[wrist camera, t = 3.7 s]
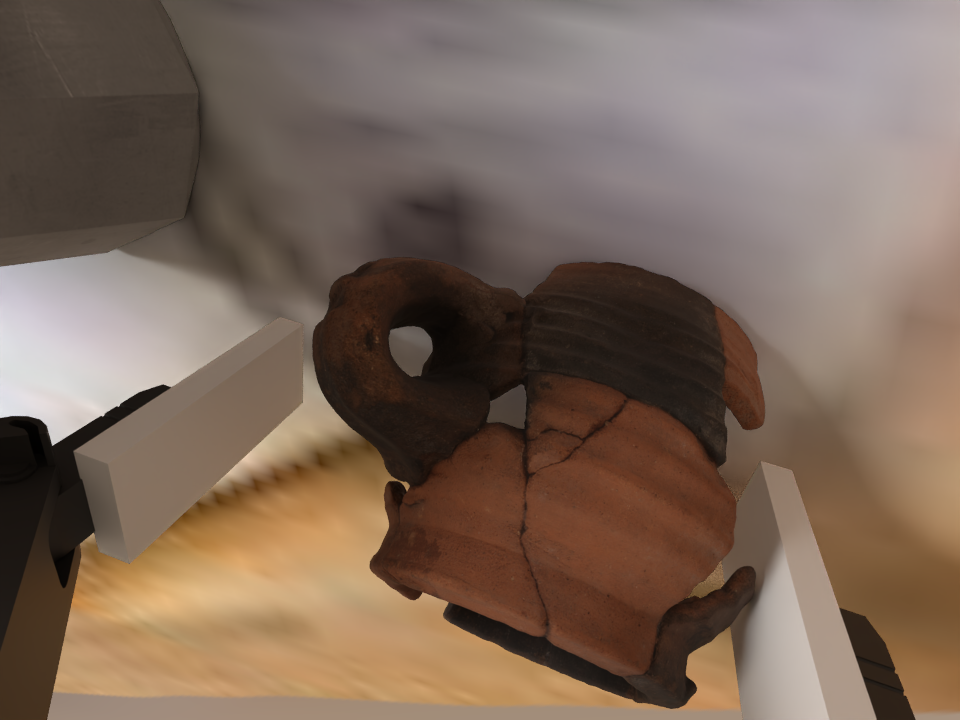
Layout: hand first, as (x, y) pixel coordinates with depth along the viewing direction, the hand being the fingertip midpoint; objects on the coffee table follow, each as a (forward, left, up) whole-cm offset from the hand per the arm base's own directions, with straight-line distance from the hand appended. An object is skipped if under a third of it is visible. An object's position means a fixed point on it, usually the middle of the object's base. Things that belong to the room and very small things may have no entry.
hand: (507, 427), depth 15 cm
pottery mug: (+1, +1, -1) cm, 2 cm away
